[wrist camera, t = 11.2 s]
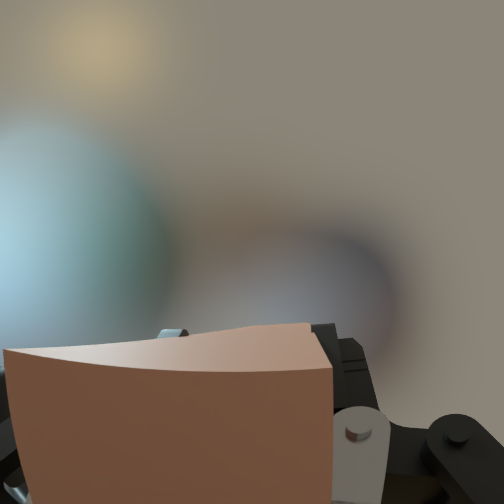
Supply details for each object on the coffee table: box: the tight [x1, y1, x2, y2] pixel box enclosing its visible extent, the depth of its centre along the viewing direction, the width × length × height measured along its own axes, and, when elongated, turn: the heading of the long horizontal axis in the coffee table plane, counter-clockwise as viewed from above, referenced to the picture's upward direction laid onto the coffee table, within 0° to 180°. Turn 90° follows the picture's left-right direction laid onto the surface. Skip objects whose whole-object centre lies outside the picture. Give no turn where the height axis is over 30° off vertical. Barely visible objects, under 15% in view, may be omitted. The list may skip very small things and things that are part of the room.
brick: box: [3, 322, 333, 504], centre depth 13 cm, size 22×4×4 cm, turn 171°
